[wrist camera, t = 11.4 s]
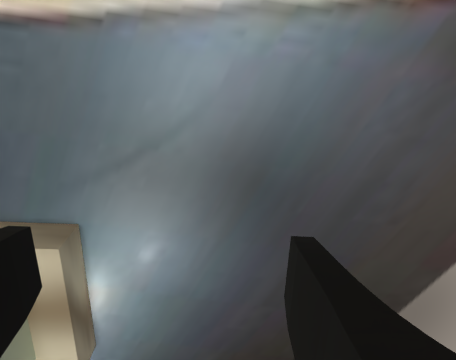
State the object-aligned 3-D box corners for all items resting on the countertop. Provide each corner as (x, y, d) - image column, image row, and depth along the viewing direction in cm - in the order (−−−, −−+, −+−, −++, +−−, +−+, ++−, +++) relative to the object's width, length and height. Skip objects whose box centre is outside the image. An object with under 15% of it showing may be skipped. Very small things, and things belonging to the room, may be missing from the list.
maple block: (98, 339, 25) (81, 379, 22) (-37, 334, 25) (-71, 373, 22) (81, 220, 21) (58, 249, 19) (-75, 214, 21) (-122, 242, 19)
